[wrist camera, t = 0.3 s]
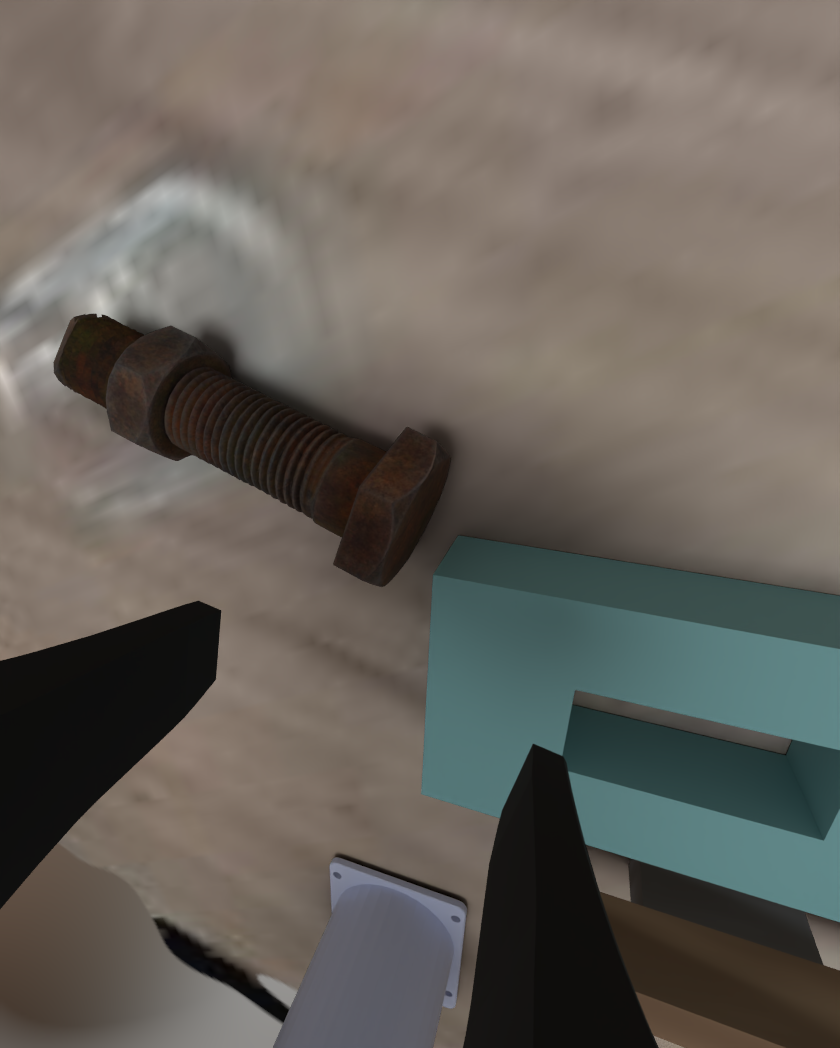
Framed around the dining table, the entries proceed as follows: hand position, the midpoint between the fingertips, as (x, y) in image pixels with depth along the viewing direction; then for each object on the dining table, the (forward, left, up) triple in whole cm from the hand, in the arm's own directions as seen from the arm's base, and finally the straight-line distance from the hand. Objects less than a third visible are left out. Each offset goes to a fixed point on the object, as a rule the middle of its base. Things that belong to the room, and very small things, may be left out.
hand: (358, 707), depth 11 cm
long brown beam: (-14, -12, -10) cm, 21 cm away
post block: (-5, -9, -10) cm, 14 cm away
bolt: (+4, +8, -11) cm, 14 cm away
